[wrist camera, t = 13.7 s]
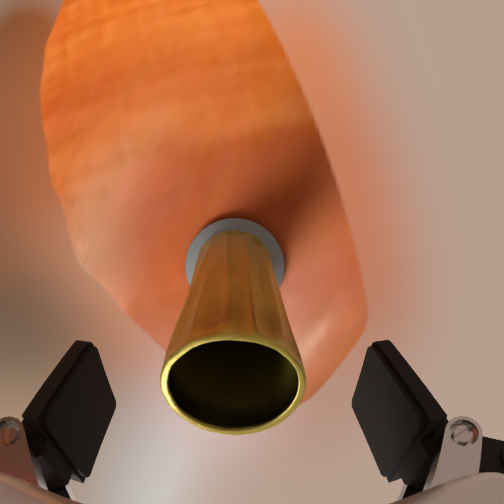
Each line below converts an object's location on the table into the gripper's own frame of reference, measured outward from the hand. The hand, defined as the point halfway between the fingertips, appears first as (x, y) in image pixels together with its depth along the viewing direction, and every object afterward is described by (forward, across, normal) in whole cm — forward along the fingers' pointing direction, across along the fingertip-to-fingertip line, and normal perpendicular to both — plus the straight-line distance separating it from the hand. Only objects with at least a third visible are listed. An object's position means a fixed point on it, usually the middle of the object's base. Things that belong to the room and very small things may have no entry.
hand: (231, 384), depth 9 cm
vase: (+15, 0, +1) cm, 15 cm away
